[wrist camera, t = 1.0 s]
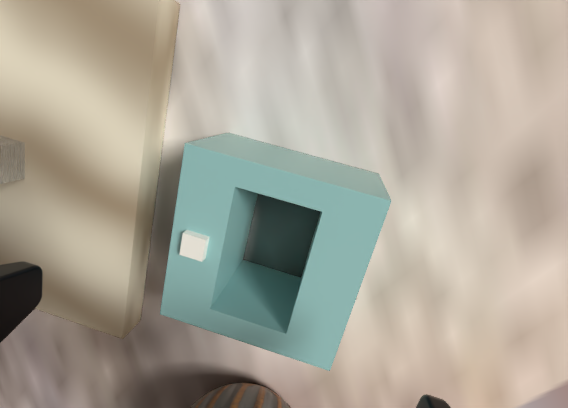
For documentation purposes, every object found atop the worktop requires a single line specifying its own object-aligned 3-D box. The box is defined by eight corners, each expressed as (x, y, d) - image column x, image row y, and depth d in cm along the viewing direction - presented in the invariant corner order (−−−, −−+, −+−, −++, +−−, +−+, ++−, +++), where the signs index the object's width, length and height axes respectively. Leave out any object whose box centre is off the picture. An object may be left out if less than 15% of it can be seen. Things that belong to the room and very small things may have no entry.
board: (140, 320, 18) (122, 338, 16) (-87, 243, 19) (-122, 254, 18) (180, 3, 13) (159, -9, 12) (-126, -69, 14) (-178, -88, 13)
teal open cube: (333, 306, 16) (329, 377, 11) (203, 265, 16) (155, 319, 12) (378, 173, 14) (392, 203, 9) (228, 132, 14) (180, 144, 10)
